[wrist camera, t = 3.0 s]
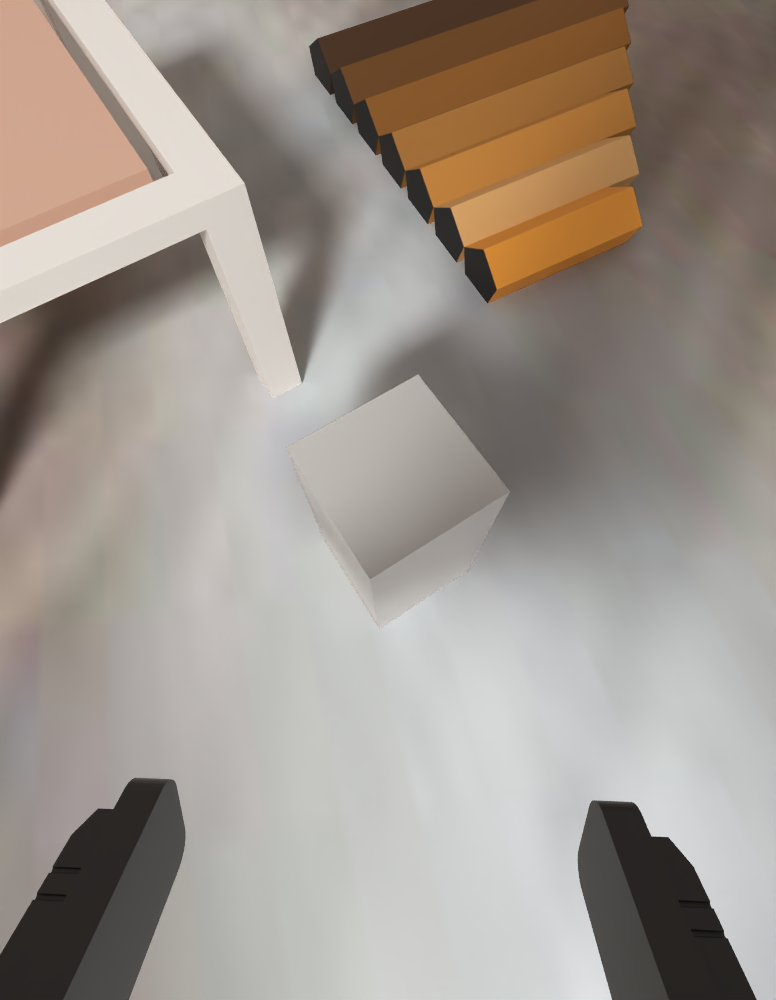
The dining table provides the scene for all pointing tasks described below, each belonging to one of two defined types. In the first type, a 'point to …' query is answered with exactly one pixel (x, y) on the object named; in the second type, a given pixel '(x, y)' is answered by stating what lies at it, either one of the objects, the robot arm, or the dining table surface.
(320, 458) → the grey upright block
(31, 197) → the trapdoor
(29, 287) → the white four-legged frame
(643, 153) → the dining table surface
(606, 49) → the pan flute
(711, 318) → the dining table surface
